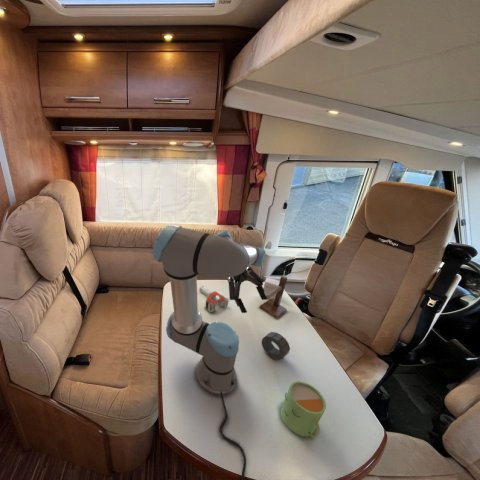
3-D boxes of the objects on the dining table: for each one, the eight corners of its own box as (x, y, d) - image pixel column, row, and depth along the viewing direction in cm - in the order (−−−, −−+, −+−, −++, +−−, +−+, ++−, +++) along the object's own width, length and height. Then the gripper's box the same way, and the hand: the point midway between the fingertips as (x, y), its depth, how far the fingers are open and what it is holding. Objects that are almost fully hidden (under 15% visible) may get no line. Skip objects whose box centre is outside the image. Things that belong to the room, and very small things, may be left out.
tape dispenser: (199, 290, 145) (194, 309, 127) (200, 283, 144) (195, 301, 126) (229, 295, 141) (228, 315, 123) (229, 287, 139) (229, 307, 121)
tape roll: (259, 348, 105) (264, 331, 101) (265, 343, 108) (269, 327, 104) (281, 364, 98) (287, 347, 94) (286, 359, 100) (292, 342, 96)
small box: (277, 296, 140) (281, 281, 136) (275, 301, 136) (279, 286, 131) (262, 291, 144) (266, 277, 140) (261, 296, 140) (264, 281, 135)
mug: (274, 404, 83) (282, 382, 78) (302, 402, 84) (311, 380, 79) (295, 447, 72) (306, 424, 67) (327, 444, 73) (340, 422, 68)
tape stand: (269, 301, 135) (277, 272, 127) (286, 311, 128) (295, 280, 120) (251, 313, 126) (258, 282, 117) (268, 324, 118) (277, 292, 110)
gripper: (247, 255, 117) (266, 294, 115) (209, 274, 106) (230, 318, 104) (258, 251, 110) (278, 293, 108) (219, 271, 100) (241, 318, 97)
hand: (254, 305), depth 106 cm, fingers open, 13 cm apart
